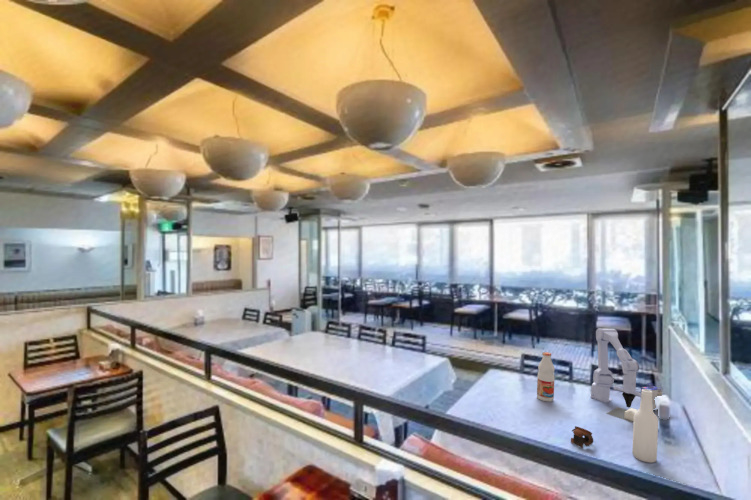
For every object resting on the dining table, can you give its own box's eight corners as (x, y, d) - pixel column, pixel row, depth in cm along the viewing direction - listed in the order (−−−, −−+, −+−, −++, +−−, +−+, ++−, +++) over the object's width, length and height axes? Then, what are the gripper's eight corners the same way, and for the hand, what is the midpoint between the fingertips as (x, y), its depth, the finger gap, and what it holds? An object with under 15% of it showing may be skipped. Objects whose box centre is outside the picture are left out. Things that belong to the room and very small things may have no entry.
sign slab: (624, 411, 206) (639, 416, 200) (631, 407, 211) (645, 412, 205) (624, 418, 206) (639, 423, 200) (631, 414, 211) (645, 418, 205)
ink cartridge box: (653, 406, 224) (654, 382, 224) (662, 410, 218) (663, 385, 218) (639, 407, 222) (640, 382, 222) (648, 411, 216) (649, 386, 216)
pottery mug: (564, 440, 181) (568, 423, 184) (580, 448, 182) (584, 431, 185) (583, 447, 170) (587, 428, 172) (600, 455, 171) (604, 437, 173)
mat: (605, 414, 211) (605, 413, 211) (618, 407, 220) (618, 406, 220) (635, 424, 199) (635, 423, 199) (647, 417, 209) (647, 416, 209)
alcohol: (657, 466, 161) (660, 396, 161) (632, 459, 166) (635, 391, 165) (655, 456, 168) (658, 389, 168) (631, 450, 173) (634, 385, 173)
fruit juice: (544, 394, 236) (546, 350, 236) (557, 400, 228) (559, 354, 227) (533, 396, 233) (535, 351, 232) (545, 402, 224) (547, 355, 224)
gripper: (611, 379, 211) (611, 403, 212) (642, 387, 200) (641, 413, 200) (617, 377, 216) (616, 400, 216) (647, 385, 204) (646, 410, 204)
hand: (628, 406), depth 208 cm, fingers closed
